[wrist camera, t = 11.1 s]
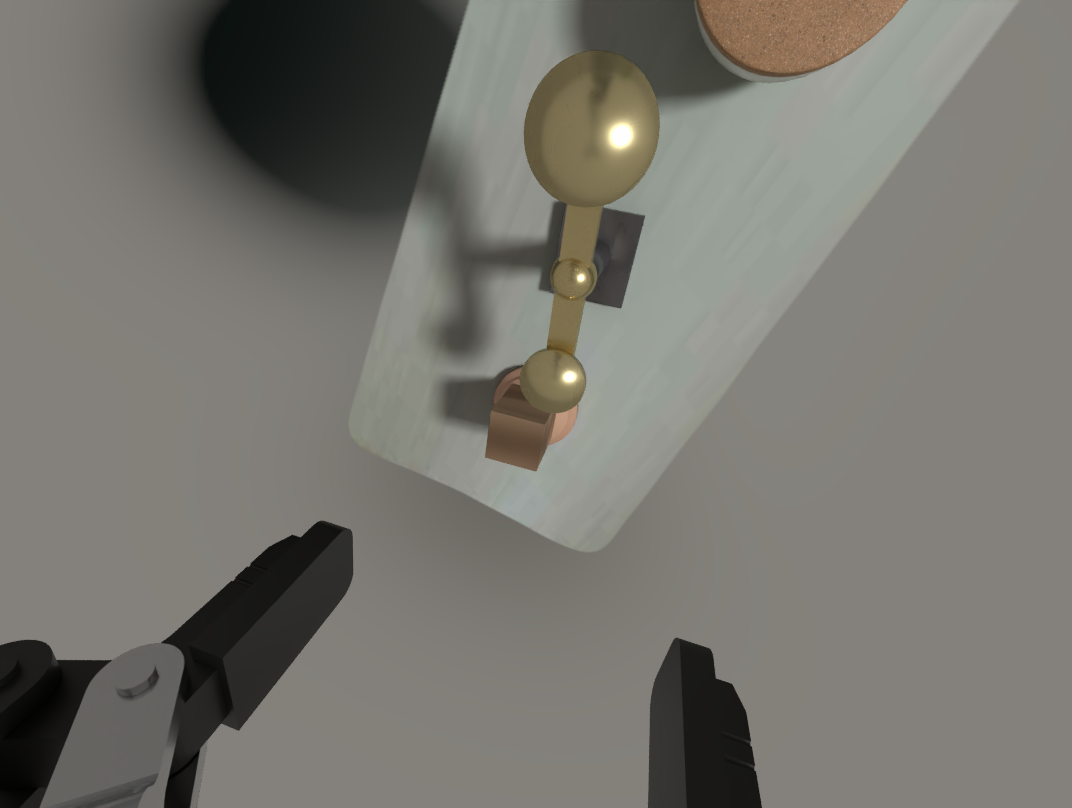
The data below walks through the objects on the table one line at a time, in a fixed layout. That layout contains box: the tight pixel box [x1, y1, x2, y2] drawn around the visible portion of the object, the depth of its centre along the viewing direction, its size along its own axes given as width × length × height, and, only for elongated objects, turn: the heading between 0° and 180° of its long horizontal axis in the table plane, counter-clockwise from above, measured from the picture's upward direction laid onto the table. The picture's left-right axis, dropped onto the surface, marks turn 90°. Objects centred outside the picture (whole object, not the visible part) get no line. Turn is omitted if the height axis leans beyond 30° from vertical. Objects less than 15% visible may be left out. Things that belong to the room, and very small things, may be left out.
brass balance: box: [520, 50, 660, 413], centre depth 30 cm, size 19×6×15 cm, turn 170°
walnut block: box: [485, 383, 556, 471], centre depth 40 cm, size 4×4×6 cm
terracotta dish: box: [494, 366, 578, 445], centre depth 43 cm, size 8×8×1 cm
